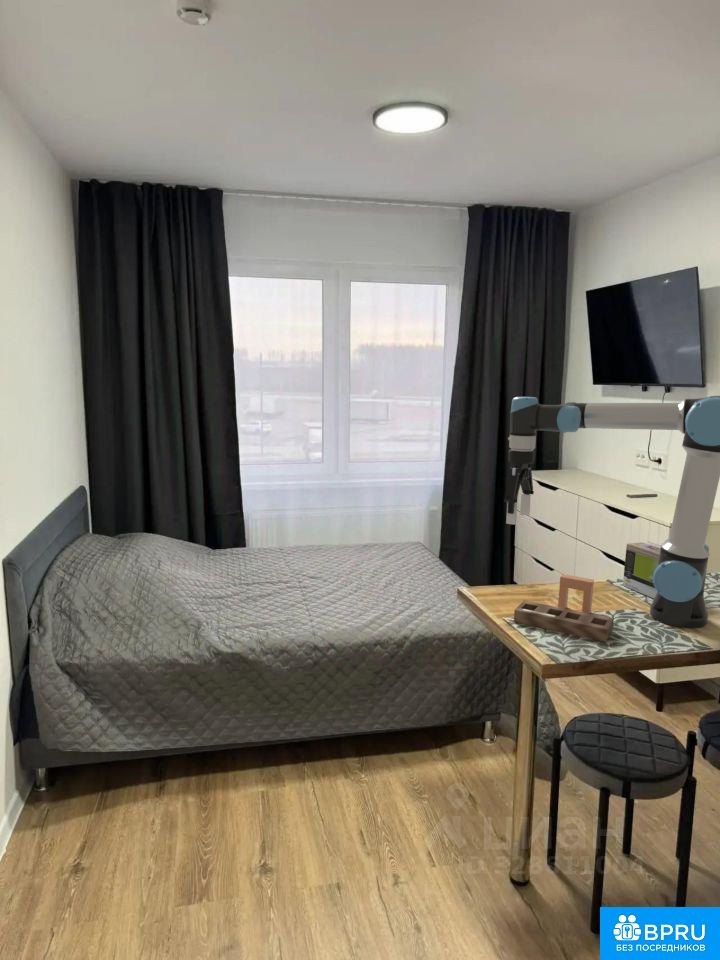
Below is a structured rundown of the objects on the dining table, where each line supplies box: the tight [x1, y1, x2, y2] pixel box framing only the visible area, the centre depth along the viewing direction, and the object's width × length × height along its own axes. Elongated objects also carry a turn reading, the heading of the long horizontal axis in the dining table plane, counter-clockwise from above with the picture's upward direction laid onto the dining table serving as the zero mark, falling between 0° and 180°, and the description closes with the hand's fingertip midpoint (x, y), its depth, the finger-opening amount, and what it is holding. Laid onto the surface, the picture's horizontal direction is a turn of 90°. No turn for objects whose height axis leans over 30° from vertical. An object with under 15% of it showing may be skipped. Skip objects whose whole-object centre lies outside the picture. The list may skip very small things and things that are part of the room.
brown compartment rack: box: [513, 600, 615, 643], centre depth 184 cm, size 25×9×4 cm, turn 59°
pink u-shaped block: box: [557, 573, 595, 614], centre depth 196 cm, size 9×3×10 cm, turn 59°
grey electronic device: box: [622, 541, 662, 599], centre depth 213 cm, size 15×10×15 cm
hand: (518, 519), depth 199 cm, fingers open, 13 cm apart
